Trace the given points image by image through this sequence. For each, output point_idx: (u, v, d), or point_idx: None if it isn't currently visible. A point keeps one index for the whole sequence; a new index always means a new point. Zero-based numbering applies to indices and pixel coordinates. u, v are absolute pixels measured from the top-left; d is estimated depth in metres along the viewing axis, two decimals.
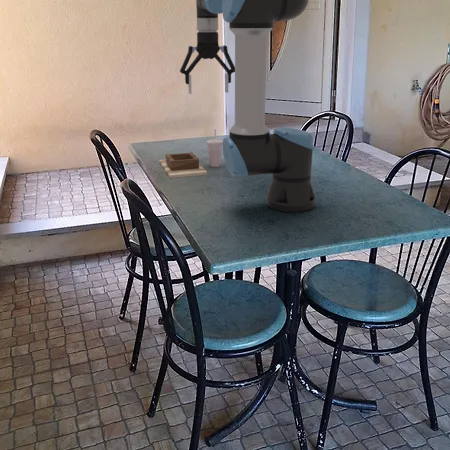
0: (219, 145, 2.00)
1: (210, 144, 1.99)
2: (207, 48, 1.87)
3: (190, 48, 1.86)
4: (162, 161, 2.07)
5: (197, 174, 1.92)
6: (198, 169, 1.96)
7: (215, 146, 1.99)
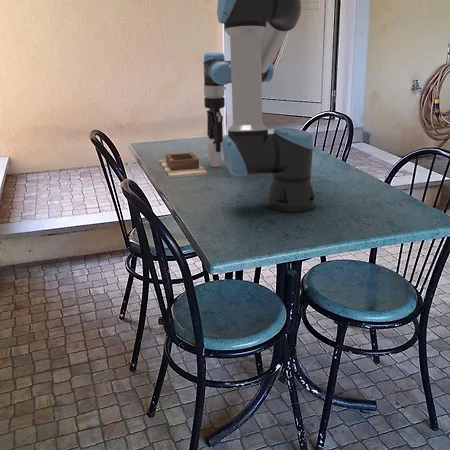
0: None
1: (210, 144, 1.99)
2: (211, 109, 1.97)
3: (207, 112, 2.03)
4: (162, 161, 2.07)
5: (197, 174, 1.92)
6: (198, 169, 1.96)
7: None
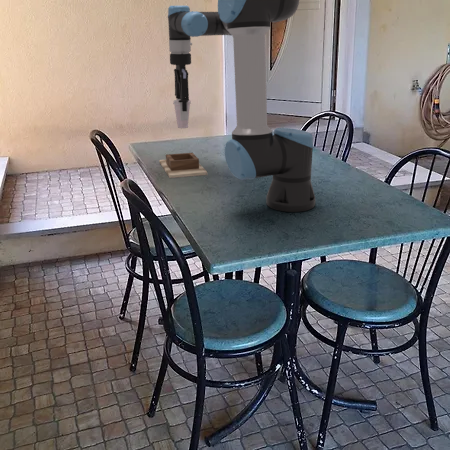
0: None
1: (176, 103, 1.90)
2: (177, 66, 1.88)
3: (174, 71, 1.94)
4: (162, 161, 2.07)
5: (197, 174, 1.92)
6: (198, 169, 1.96)
7: None
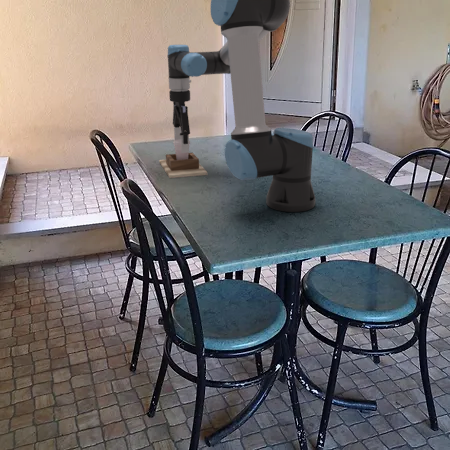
0: None
1: (176, 144, 1.95)
2: (177, 105, 1.93)
3: (173, 103, 1.98)
4: (162, 161, 2.07)
5: (197, 174, 1.92)
6: (198, 169, 1.96)
7: None
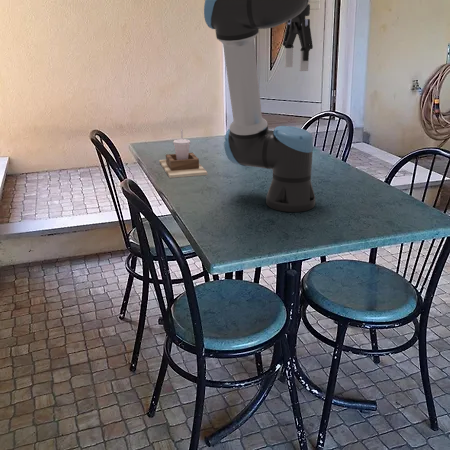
0: (186, 145, 1.96)
1: (176, 144, 1.95)
2: (294, 21, 1.79)
3: (287, 21, 1.85)
4: (162, 161, 2.07)
5: (197, 174, 1.92)
6: (198, 169, 1.96)
7: (181, 146, 1.95)
